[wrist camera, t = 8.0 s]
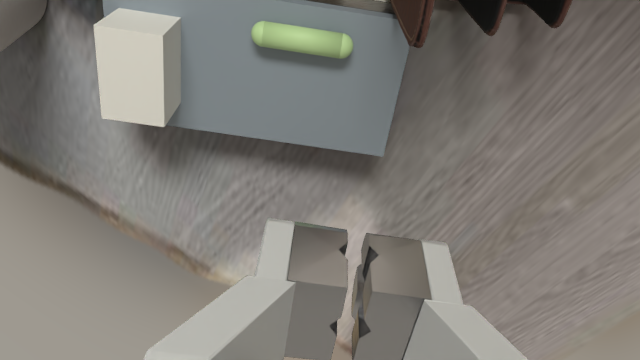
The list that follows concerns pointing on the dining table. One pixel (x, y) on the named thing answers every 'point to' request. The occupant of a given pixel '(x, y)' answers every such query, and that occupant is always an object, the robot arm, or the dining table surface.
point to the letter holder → (472, 14)
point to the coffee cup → (18, 18)
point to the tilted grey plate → (253, 69)
